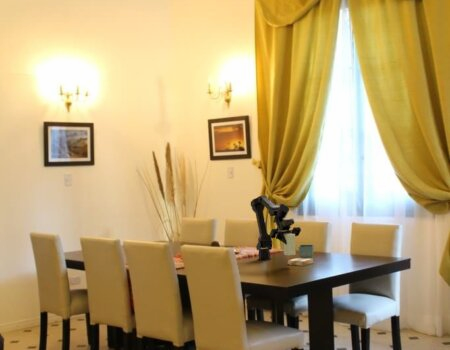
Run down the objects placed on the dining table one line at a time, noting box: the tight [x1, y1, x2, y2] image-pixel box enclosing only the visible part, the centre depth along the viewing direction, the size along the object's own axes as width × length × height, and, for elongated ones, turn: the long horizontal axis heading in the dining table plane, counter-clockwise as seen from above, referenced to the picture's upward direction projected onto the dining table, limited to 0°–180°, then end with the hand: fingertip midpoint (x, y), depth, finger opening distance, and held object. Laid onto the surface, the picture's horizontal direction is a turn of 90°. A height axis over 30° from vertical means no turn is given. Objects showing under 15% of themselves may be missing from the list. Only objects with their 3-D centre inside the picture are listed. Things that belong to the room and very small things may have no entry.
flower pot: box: [298, 244, 315, 259], centre depth 389 cm, size 9×9×9 cm
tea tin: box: [283, 233, 296, 256], centre depth 367 cm, size 5×5×12 cm
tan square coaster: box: [287, 257, 314, 267], centre depth 375 cm, size 11×11×3 cm
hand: (290, 243), depth 365 cm, fingers closed on tea tin, 5 cm apart
